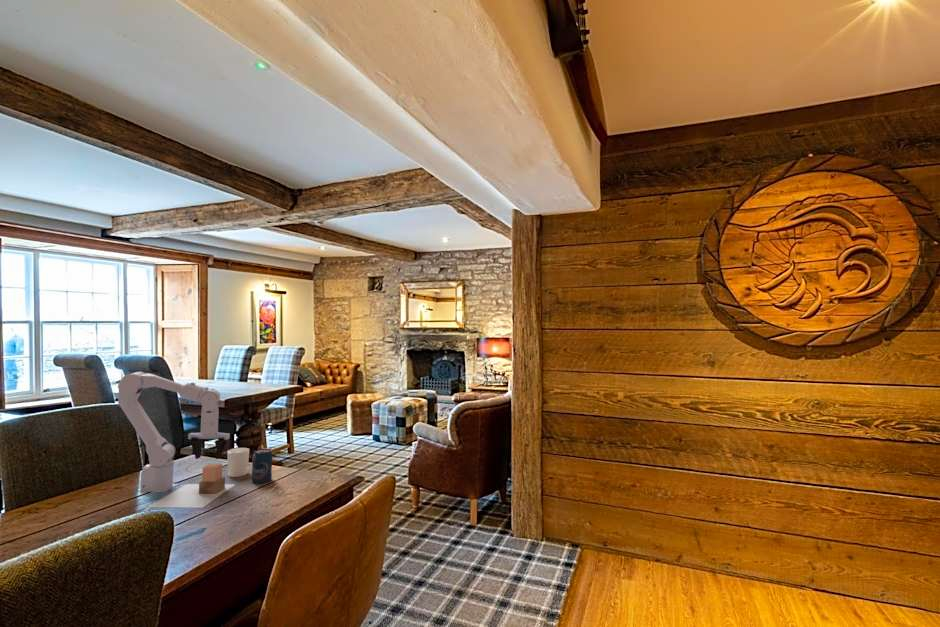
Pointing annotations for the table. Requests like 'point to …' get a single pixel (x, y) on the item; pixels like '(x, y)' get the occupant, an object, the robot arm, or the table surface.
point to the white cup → (237, 461)
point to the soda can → (262, 466)
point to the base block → (211, 486)
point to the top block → (212, 473)
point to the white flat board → (188, 497)
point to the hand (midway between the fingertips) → (208, 458)
